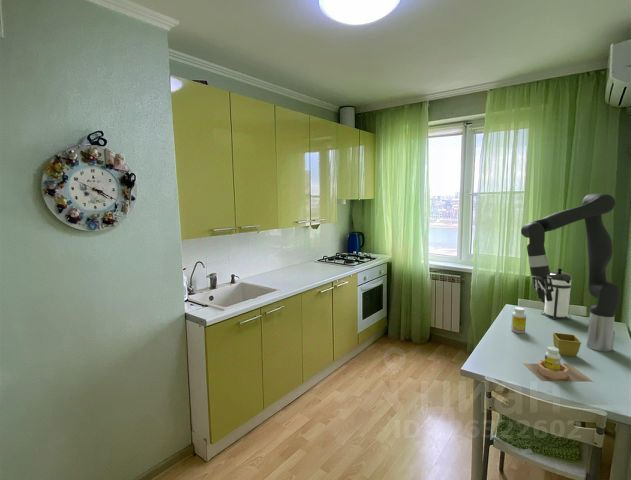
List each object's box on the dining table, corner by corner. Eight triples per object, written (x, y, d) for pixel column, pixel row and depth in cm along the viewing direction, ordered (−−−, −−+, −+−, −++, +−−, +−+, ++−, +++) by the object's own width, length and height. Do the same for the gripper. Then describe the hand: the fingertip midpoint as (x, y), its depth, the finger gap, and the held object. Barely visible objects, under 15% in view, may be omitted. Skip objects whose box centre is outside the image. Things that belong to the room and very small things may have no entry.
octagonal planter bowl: (556, 366, 151) (557, 359, 150) (573, 379, 140) (574, 372, 140) (532, 366, 151) (532, 359, 151) (546, 379, 141) (547, 372, 140)
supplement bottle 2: (540, 367, 148) (542, 346, 147) (552, 366, 149) (554, 345, 147) (550, 374, 143) (552, 351, 142) (562, 373, 143) (564, 351, 142)
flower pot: (572, 352, 166) (574, 334, 164) (579, 361, 157) (581, 342, 156) (551, 349, 168) (552, 332, 167) (557, 358, 160) (558, 339, 159)
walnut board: (569, 366, 153) (569, 363, 153) (592, 384, 139) (593, 381, 139) (522, 366, 154) (522, 363, 154) (541, 383, 140) (541, 380, 140)
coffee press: (572, 315, 212) (577, 267, 208) (568, 323, 200) (573, 272, 196) (539, 309, 224) (543, 263, 219) (533, 315, 212) (537, 268, 208)
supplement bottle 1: (527, 333, 187) (528, 311, 185) (513, 333, 188) (515, 310, 186) (522, 328, 194) (524, 306, 192) (509, 328, 195) (510, 306, 193)
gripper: (555, 264, 154) (562, 301, 153) (540, 263, 168) (546, 296, 167) (536, 267, 155) (543, 303, 154) (523, 265, 169) (530, 298, 168)
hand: (545, 299), depth 161 cm, fingers open, 8 cm apart
